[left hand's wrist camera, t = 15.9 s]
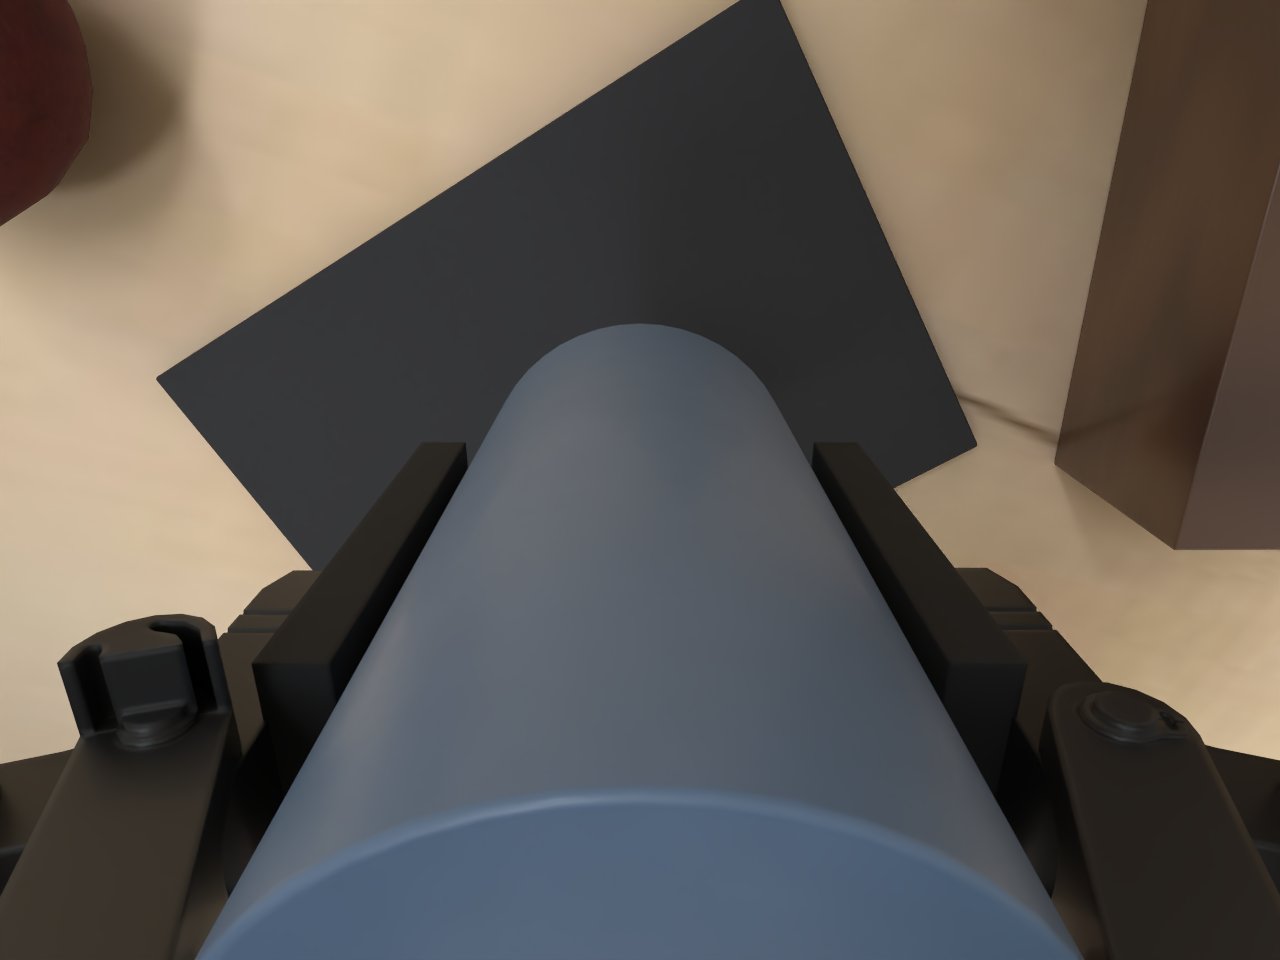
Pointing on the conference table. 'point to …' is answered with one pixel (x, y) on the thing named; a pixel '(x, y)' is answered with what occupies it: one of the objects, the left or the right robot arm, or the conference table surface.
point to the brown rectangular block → (1189, 288)
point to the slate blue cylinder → (639, 714)
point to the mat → (590, 288)
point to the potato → (40, 99)
